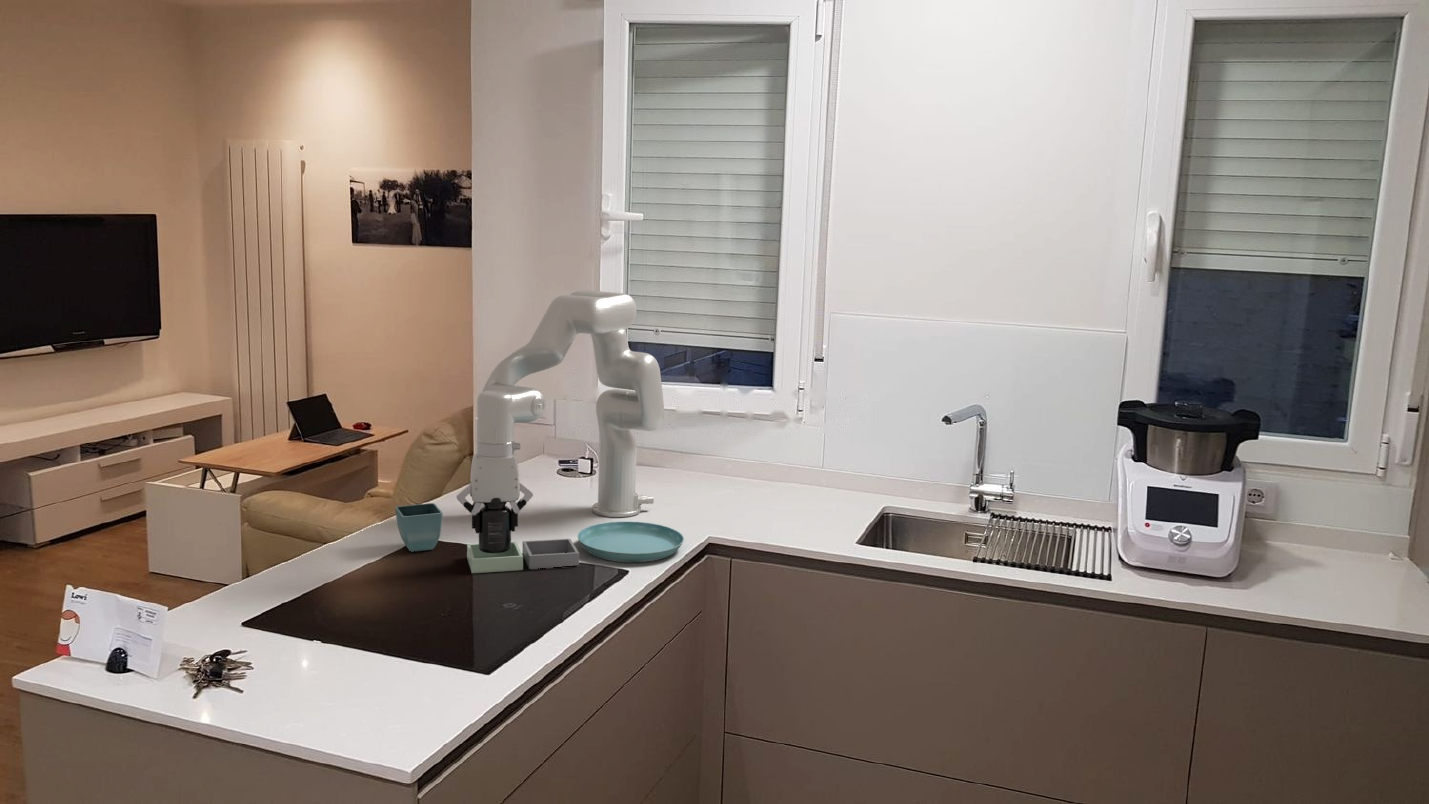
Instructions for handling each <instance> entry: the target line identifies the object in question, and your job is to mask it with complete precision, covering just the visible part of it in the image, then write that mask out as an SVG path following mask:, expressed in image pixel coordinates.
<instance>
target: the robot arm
mask: <svg viewBox="0 0 1429 804" xmlns="http://www.w3.org/2000/svg"><path fill="white" fill-rule="evenodd" d="M636 318H637V304H636V302H635V300H634V298H632V296H630V295H629V294H626V293H624V292H612V291H611V292H610V291H601V290H589V289H587V290H586V289H580V290H579V289H578V290H575V291H573V292H571V293H570V294H564V295H559V296H557V297H555V298H554V299H553V300H552V301H551V302H550V304H549V306H548V308H547V309H546V311H545V313H544V315H543V317H542V319H541V320H540V322H539V324H538V325H537V327H536V329H535V330H534V332H533V334H532V336H531V338H530V340H529V341H528V342H527V344H525V345H523V346H522V347H520V348H518V349H516V350H515V351H514V352H512V353H511V354H510V355H508V356H506V357H505V358H504V359H503V360H501V361H500V362H499V363H498V364H497V365H495V368H494V369H493V370H492V371H491V373H490V374H489V377H488V379H487V381H486V383H485V384H484V387H483V388H482V391H481V392H479V394H478V396H477V399H476V400H477V402H476V403H477V404H476V405H477V407H476V408H477V409H476V411H477V412H476V413H477V415H476V417H477V454H476V453H474V454H473V456H472V461H471V466H470V477H469V479H470V480H469V484H468V485H467V486H465V487H464V489H462V490H461V491H460V492H459V493H458V494H457V495H456V499H457V501H458V503H460V504H461V505H462V506H463V508H465V509H466V510H467V511H468V513H470V514H471V528H472V530H474V531H475V534H479V533H480V516H479V513H478V511H479V509H480V507H481V505H482V503H489V502H491V499H493V498H500V499H501V502H507V503H509V504H510V507H511V509H510V510H511V533H512V532H516V527H518V525H519V513H520V512H521V510H522V509H523V508H524V507H525V506H526V505H527V503H528V502H529V501H530V500H531V499H532V498H533V497H534V494H533V492H532V491H531V490H530V489H528V488H527V486H525V485H524V484H522V483H521V482H520V473H519V472H520V470H519V464H518V463H519V462H518V457H517V454H516V453H515V452H516V451H517V450H518V451H519V450H521V443H520V442H516V441H514V433H515V432H514V431H515V430H514V429H515V428H514V425H515V423H517V424H518V423H532V422H535V421H537V420H538V419H540V418H541V417H542V415H543V414H544V412H545V410H546V398H545V396H544V394H543V393H542V392H541V391H540V390H537V389H536V388H532V387H528V386H520V385H516V384H517V383H518V382H519V381H520V380H522V379H523V378H526V377H528V376H530V375H533V374H536V373H539V372H542V371H546V370H549V369H551V368H554V367H557V366H558V365H560V364H561V363H562V362H563V361H564V360H565V357H566V355H567V353H568V351H569V350H570V347H571V345H572V344H573V342H574V340H575V339H576V336H577V335H579V334H587V335H590V337H591V339H592V340H591V341H592V345H593V346H592V347H593V352H594V353H593V354H594V359H595V366H596V367H595V368H596V374H597V378H598V380H599V382H600V383H601V385H603V386H605V387H608V388H612V389H607V390H605V391H603V392H601V394H600V395H599V396H598V397H597V401H596V404H595V405H596V406H595V412H596V413H595V414H596V419H597V425H598V437H599V440H598V443H599V445H598V450H599V451H598V488H597V489H598V492H597V493H598V494H597V497H598V498H597V502H595V503H593V504H592V505H591V511H592V513H594V514H595V515H598V516H603V517H609V518H627V517H633V516H636V515H638V514H640V513H641V511H642V505H644V504H646V505H651V504H652V505H653V504H654V496H652V495H651V496H650V495H648V496H647V495H646V494H644V495H643V494H641V495H638V493H636V485H637V484H636V481H637V454H638V453H637V449H638V448H637V447H638V446H637V441H636V437H635V435H634V432H633V431H632V430H634V431H635V430H637V431H642V432H643V431H644V432H651V431H652V432H653V431H656V430H657V429H659V428H660V427H661V425H662V424H663V421H664V417H665V405H664V402H665V401H664V394H663V386H662V375H661V369H660V364H659V363H658V361H657V359H656V357H655V356H653V355H652V354H650V353H647V352H642V351H633V350H631V349H630V347H629V343H628V342H629V341H628V335H627V331H626V329H628V328H630V327H631V326H632V325H633V323H634V322H635V320H636ZM520 492H521V493H522V494H524V495H523V496H522V498H520V496H521V495H520V494H521V493H520ZM467 496H470V497H471V500H472V503H470V502H469V500H467V499H466V497H467ZM516 501H517V502H516Z"/></svg>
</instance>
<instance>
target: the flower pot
mask: <svg viewBox="0 0 1429 804" xmlns="http://www.w3.org/2000/svg"><path fill="white" fill-rule="evenodd" d="M394 509H395V517H396V523H397V529H398V532H399V535H400V538H401V540H402V541H403V543H404V545H405V547H406V548H407V550H408V551H409V552H410V551H411V553H413V552H414V551H415V552H423V551H430V550H434V549H435V547H436V545H437V544H438V542H439V540H440V536H441V533H442V525H443V524H442V523H443V513H444V512H443V511H442V510H441V509H440V508H439V507H438V506H437V505H436V503H434V502H431V503H430V502H429V503H418V504H411V505H409V504H407V505H398V506H395V508H394Z"/></svg>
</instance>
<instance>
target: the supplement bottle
mask: <svg viewBox="0 0 1429 804" xmlns="http://www.w3.org/2000/svg"><path fill="white" fill-rule="evenodd" d="M507 503H508V502H501V499H500V498H493V499H491V502H489V503H483V504H484V506H483V507H482V508H481V509H480V510H479V516H480V533H478V544H479V549H480V551H482V552H485V553H503V552H506V551H508V550H509V549H510V548H511V542H512V531H511V509H510V507H508V506H507V505H506V504H507Z"/></svg>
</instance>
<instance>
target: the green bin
mask: <svg viewBox="0 0 1429 804" xmlns="http://www.w3.org/2000/svg"><path fill="white" fill-rule="evenodd" d="M466 551H467V552H466V558H467V562H468V565H469V568H470V569H469V570H470V571H471V574H480V573H494V572H495V573H498V572H512V571H523V570H524V556H523V552H522V551H521V549H520V546H519V544H518V542H517V541H511V548H510V549H509V550H508V551H506V552H503V553H485V552H482V551H480V549H479V543H467V544H466Z"/></svg>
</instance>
